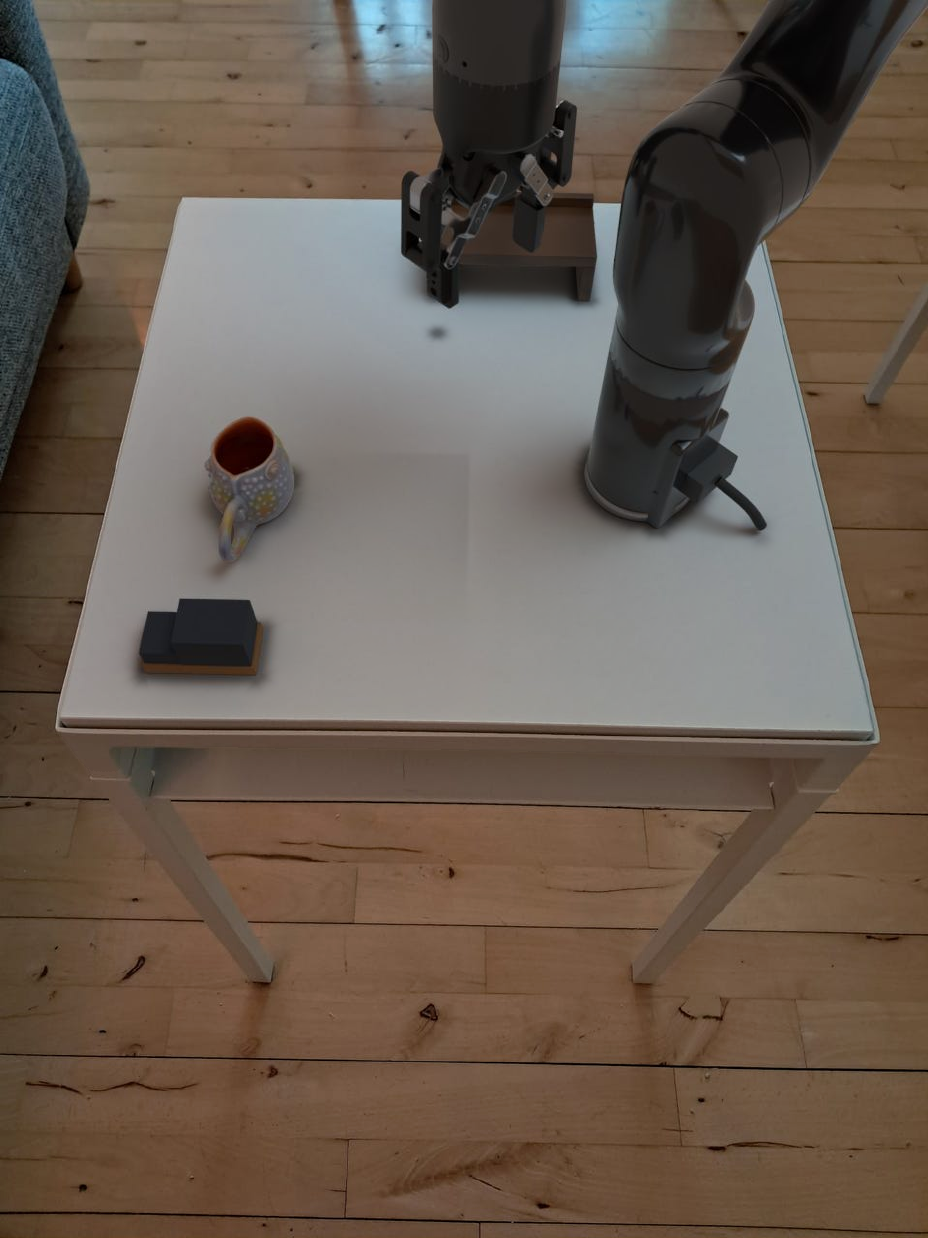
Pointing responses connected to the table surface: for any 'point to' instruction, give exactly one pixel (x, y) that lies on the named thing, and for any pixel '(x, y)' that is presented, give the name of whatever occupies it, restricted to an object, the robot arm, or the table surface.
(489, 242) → the shoe shelf
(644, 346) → the robot arm
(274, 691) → the table surface
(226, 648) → the stepped blocks on board
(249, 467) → the mug
